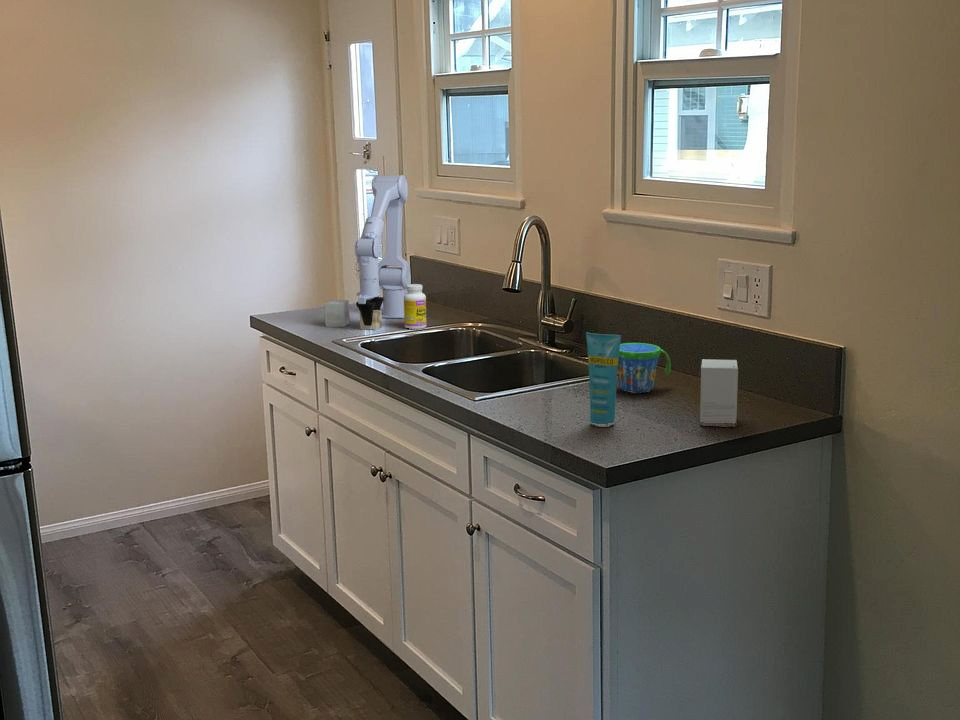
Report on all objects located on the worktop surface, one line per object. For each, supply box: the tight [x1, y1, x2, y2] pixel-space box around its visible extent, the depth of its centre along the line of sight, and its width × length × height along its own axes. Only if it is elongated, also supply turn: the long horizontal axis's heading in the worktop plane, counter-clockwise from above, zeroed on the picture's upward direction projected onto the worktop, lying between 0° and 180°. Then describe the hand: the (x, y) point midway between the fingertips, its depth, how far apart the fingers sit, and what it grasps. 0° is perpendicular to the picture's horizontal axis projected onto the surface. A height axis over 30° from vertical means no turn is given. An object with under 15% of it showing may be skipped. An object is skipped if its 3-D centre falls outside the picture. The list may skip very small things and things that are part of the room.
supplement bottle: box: [403, 283, 428, 330], centre depth 313 cm, size 7×7×13 cm
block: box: [359, 309, 383, 330], centre depth 314 cm, size 5×5×5 cm
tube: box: [585, 332, 622, 424], centre depth 214 cm, size 7×5×19 cm, turn 69°
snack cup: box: [617, 342, 672, 393], centre depth 240 cm, size 16×10×10 cm
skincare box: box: [323, 299, 351, 328], centre depth 320 cm, size 6×6×7 cm
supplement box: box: [699, 358, 739, 424], centre depth 215 cm, size 7×7×13 cm
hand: (371, 323), depth 315 cm, fingers closed on block, 5 cm apart
